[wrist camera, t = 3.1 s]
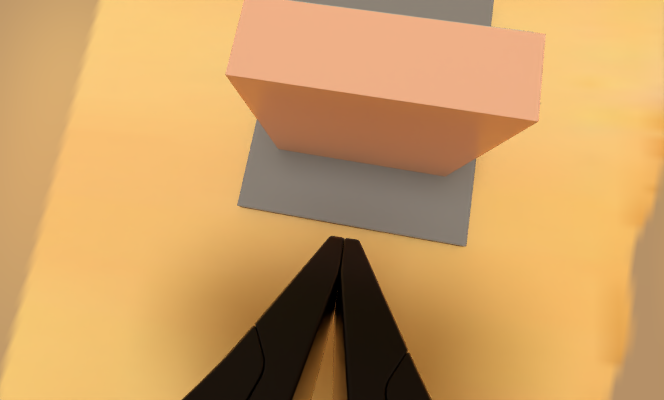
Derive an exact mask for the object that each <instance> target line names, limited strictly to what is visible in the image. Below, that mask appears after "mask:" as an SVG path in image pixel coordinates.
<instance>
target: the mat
mask: <svg viewBox="0 0 664 400" xmlns="http://www.w3.org/2000/svg"><path fill="white" fill-rule="evenodd" d="M292 1H299V2H307V3H315V4H322V5H330V6H338V7H345V8H353V9H361V10H368V11H376V12H383V13H391V14H399V15H406V16H414V17H422V18H429V19H437V20H445V21H452V22H460V23H467V24H475V25H483V26H490V27H491V20H492V12H493V3H494V0H292ZM475 164H476V159H474V160H472V161H471V162H469V163H467V164H466V165H464V166H462V167H461V168H459V169H457V170H455V171H454V172H452V173H450V174H449V175H447V176H445V177H444V176H438V175H432V174H426V173H420V172H414V171H408V170H402V169H396V168H390V167H384V166H378V165H371V164H365V163H359V162H353V161H347V160H341V159H335V158H329V157H323V156H317V155H311V154H305V153H299V152H292V151H286V150H280V149H278V148H277V147H276V145H275V144H274V142H273V141H272V140H271V138H270V137H269V135H268V134H267V132H266V131H265V130H264V128H263V127H262V125H261V124H260V123H259V121H258V120H257V121H256V126H255V130H254V134H253V139H252V143H251V148H250V152H249V156H248V161H247V165H246V169H245V174H244V178H243V183H242V187H241V191H240V196H239V200H238V204H237V206H240V207H246V208H252V209H257V210H263V211H268V212H274V213H280V214H285V215H291V216H296V217H302V218H308V219H313V220H319V221H324V222H330V223H335V224H341V225H347V226H352V227H358V228H363V229H369V230H375V231H380V232H386V233H391V234H397V235H403V236H408V237H414V238H419V239H425V240H431V241H436V242H442V243H447V244H453V245H458V246H466V244H467V235H468V226H469V217H470V208H471V199H472V190H473V181H474V173H475Z"/></svg>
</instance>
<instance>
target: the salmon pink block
mask: <svg viewBox="0 0 664 400" xmlns="http://www.w3.org/2000/svg"><path fill="white" fill-rule="evenodd" d="M544 47H545V34H542V33H534V32H529V31H521V30H513V29H506V28H498V27H490V26H483V25H475V24H467V23H460V22H452V21H445V20H437V19H429V18H422V17H414V16H406V15H399V14H391V13H383V12H376V11H368V10H361V9H353V8H345V7H338V6H330V5H322V4H315V3H307V2H299V1H292V0H244V3H243V7H242V11H241V15H240V19H239V23H238V27H237V31H236V35H235V38H234V42H233V46H232V50H231V54H230V58H229V62H228V66H227V70H226V74H225V75H226V76H227V77H228V79H229V80H230V82H231V83H232V85H233V86H234V87H235V89H236V90H237V92H238V93H239V94H240V96H241V97H242V99H243V100H244V101H245V103H246V104H247V106H248V107H249V108H250V110H251V111H252V113H253V114H254V116H255V117H256V118H257V120H258V121H259V123H260V124H261V125H262V127H263V128H264V130H265V131H266V132H267V134H268V135H269V137H270V138H271V140H272V141H273V142H274V144H275V145H276V147H277V148H278V149H280V150H286V151H292V152H299V153H305V154H311V155H317V156H323V157H329V158H335V159H341V160H347V161H353V162H359V163H365V164H371V165H378V166H384V167H390V168H396V169H402V170H408V171H414V172H420V173H426V174H432V175H438V176H444V177H445V176H447V175H449V174H450V173H452V172H454V171H455V170H457V169H459V168H461V167H462V166H464V165H466V164H467V163H469V162H471V161H472V160H474V159H476V158H477V157H479V156H481V155H482V154H484V153H486V152H488V151H489V150H491V149H493V148H494V147H496V146H498V145H499V144H501V143H503V142H504V141H506V140H508V139H510V138H511V137H513V136H515V135H516V134H518V133H520V132H521V131H523V130H525V129H526V128H528V127H530V126H531V125H533V124H535V123H537V122H538V120H539V108H540V96H541V83H542V71H543V59H544Z"/></svg>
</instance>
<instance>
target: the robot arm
mask: <svg viewBox="0 0 664 400" xmlns="http://www.w3.org/2000/svg"><path fill="white" fill-rule="evenodd" d="M343 246H344V247H343ZM336 297H337V298H336ZM335 304H336V305H335ZM334 310H335V315H334ZM333 315H334V358H333V400H432V399H431V397H430V395H429V393H428V391H427V389H426V387H425V385H424V383H423V381H422V379H421V377H420V375H419V373H418V370H417V368H416V366H415V364H414V361H413V359H412V357H411V355H410V353H407V352H408V348H407V346H406V344H405V342H404V339H403V337H402V335H401V333H400V331H399V328H398V326H397V324H396V322H395V319H394V317H393V315H392V313H391V310H390V308H389V306H388V304H387V301H386V299H385V297H384V295H383V293H382V290H381V288H380V286H379V284H378V281H377V279H376V277H375V275H374V272H373V270H372V268H371V266H370V263H369V261H368V259H367V257H366V255H365V252H364V250H363V248H362V246H361V243H360V241H359V240H356V239H349V238H346V239H345V240H344V238H342V237H335V236H330V237H329V238H328V239H327V240H326V242H325V243H324V244H323V245H322V246H321V247H320V249H319V250H318V251H317V252H316V253H315V254H314V256H313V257H312V258H311V259H310V260H309V261H308V262H307V264H306V265H305V266H304V267H303V268H302V269H301V271H300V272H299V273H298V274H297V275H296V276H295V278H294V279H293V280H292V281H291V282H290V283H289V285H288V286H287V287H286V288H285V289H284V290H283V292H282V293H281V294H280V295H279V296H278V297H277V299H276V300H275V301H274V302H273V303H272V304H271V306H270V307H269V308H268V309H267V310H266V311H265V312H264V314H263V315H262V316H261V317H260V318H259V319H258V321H257V322H256V323H255V326H252V327H251V329H250V330H249V331H248V332H247V333H246V334H245V336H244V337H243V338H242V339H241V340H240V341H239V342H238V343H237V345H236V346H235V347H234V348H233V349H232V350H231V351H230V352H229V353H228V354H227V356H226V357H225V358H224V359H223V360H222V361H221V362H220V363H219V364H218V365H217V366H216V367H215V368H214V369H213V370H212V371H211V372H210V373H209V374H208V375H207V376H206V377H205V378H204V379H203V380H202V381H201V382H200V383H199V384H198V385H197V386H196V387H195V388H194V389H193V390H191V391H190V392H189V393H188V394H187V395H186V396H185V397H184V398H183V399H182V400H311V398H312V395H313V391H314V387H315V384H316V380H317V376H318V372H319V369H320V365H321V361H322V357H323V354H324V350H325V346H326V342H327V339H328V335H329V331H330V327H331V324H332V320H333Z"/></svg>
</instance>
